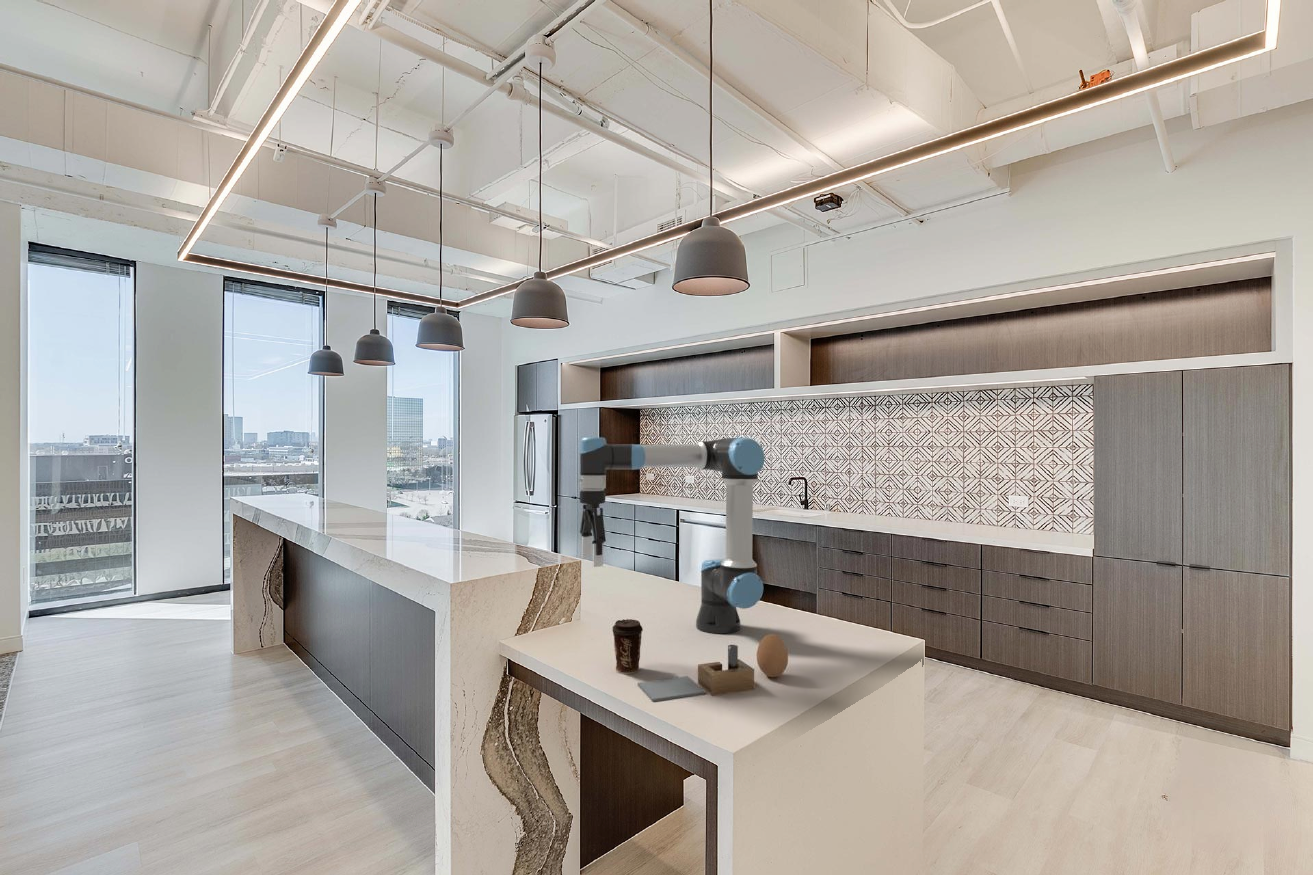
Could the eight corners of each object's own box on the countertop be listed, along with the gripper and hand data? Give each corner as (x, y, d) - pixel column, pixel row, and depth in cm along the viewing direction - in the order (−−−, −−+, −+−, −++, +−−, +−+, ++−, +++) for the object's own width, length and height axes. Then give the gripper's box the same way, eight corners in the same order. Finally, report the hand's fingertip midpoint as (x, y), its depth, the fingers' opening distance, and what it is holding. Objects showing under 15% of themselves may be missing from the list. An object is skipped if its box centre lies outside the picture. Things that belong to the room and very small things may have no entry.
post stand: (735, 682, 160) (735, 643, 160) (740, 686, 157) (740, 647, 157) (724, 683, 158) (725, 645, 159) (730, 688, 156) (730, 648, 156)
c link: (738, 677, 163) (739, 659, 163) (754, 688, 155) (754, 669, 155) (697, 683, 158) (698, 664, 159) (711, 695, 151) (711, 674, 151)
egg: (753, 671, 168) (753, 629, 168) (783, 670, 169) (783, 629, 169) (760, 682, 160) (760, 639, 160) (791, 681, 160) (792, 638, 161)
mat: (687, 678, 162) (687, 675, 162) (705, 693, 152) (705, 691, 152) (637, 685, 157) (637, 682, 157) (652, 701, 147) (652, 699, 147)
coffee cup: (611, 664, 172) (612, 618, 173) (641, 663, 173) (641, 617, 173) (612, 675, 164) (612, 626, 164) (643, 675, 164) (643, 626, 165)
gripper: (570, 487, 190) (570, 555, 190) (590, 492, 167) (590, 570, 166) (594, 487, 193) (593, 554, 192) (617, 492, 170) (616, 569, 169)
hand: (592, 562), depth 179 cm, fingers open, 13 cm apart
